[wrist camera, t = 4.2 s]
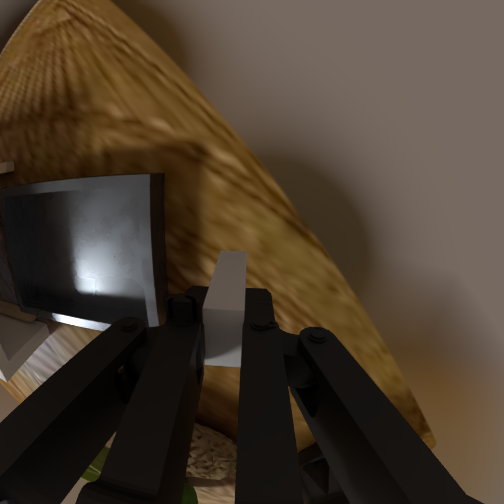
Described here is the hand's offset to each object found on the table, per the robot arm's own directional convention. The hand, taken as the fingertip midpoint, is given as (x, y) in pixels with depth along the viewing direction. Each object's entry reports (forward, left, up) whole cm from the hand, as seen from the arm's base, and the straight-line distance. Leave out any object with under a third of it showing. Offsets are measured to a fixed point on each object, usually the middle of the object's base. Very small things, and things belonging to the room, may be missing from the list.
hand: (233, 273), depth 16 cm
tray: (+13, 0, -4) cm, 14 cm away
